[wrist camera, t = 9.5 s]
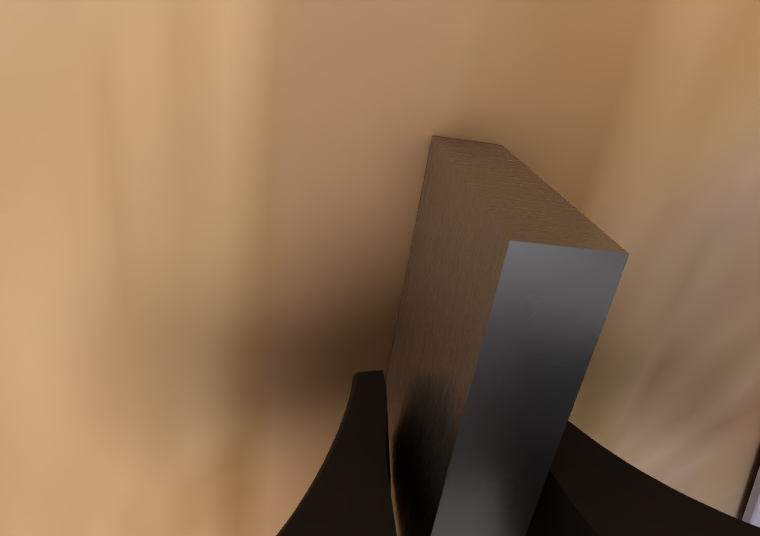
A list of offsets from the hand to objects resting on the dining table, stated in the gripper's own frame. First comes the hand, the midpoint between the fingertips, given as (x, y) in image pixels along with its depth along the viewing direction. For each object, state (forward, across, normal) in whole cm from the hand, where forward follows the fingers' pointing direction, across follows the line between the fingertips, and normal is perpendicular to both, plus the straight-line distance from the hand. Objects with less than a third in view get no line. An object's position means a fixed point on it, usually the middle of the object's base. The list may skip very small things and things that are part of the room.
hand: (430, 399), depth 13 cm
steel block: (+2, +2, +8) cm, 8 cm away
